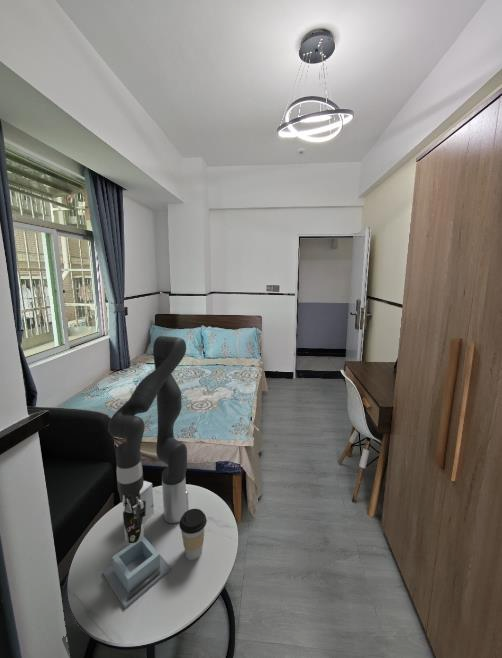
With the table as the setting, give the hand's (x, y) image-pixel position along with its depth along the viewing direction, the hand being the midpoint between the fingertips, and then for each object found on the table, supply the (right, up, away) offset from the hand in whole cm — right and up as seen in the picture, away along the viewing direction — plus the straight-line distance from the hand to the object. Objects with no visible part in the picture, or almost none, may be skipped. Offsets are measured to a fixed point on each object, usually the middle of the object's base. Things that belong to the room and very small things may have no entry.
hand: (133, 520), depth 95 cm
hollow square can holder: (0, -20, +3) cm, 20 cm away
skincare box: (-6, -16, +25) cm, 30 cm away
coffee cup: (+18, -19, +10) cm, 28 cm away
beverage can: (0, -7, +1) cm, 7 cm away
